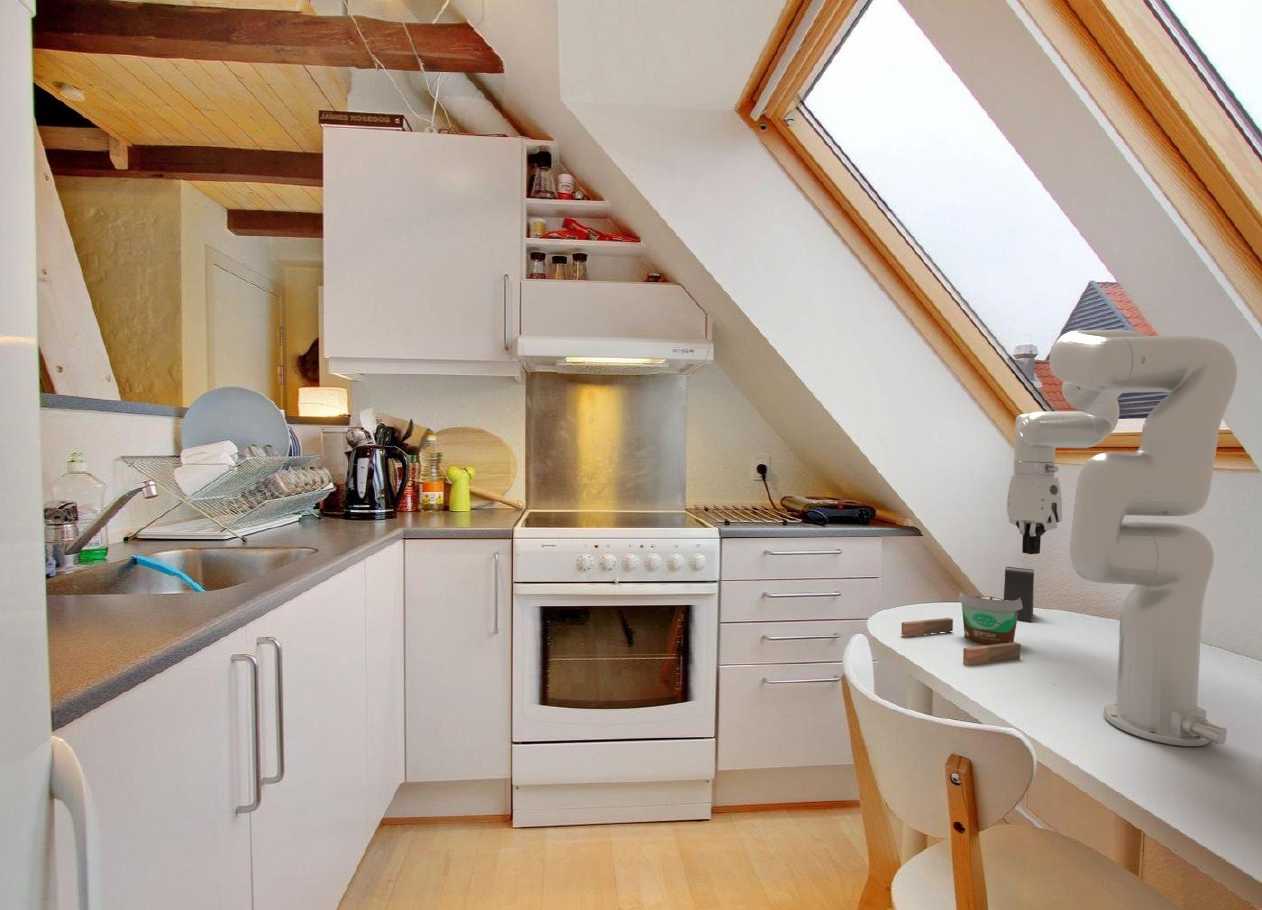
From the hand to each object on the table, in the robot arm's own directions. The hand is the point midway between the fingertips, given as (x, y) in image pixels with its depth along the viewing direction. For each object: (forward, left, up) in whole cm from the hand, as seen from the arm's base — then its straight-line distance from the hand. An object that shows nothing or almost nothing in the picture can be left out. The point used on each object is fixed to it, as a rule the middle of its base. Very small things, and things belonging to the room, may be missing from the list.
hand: (1031, 553), depth 138 cm
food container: (0, +11, -19) cm, 22 cm away
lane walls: (0, +20, -19) cm, 27 cm away
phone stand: (+14, -13, -19) cm, 27 cm away
